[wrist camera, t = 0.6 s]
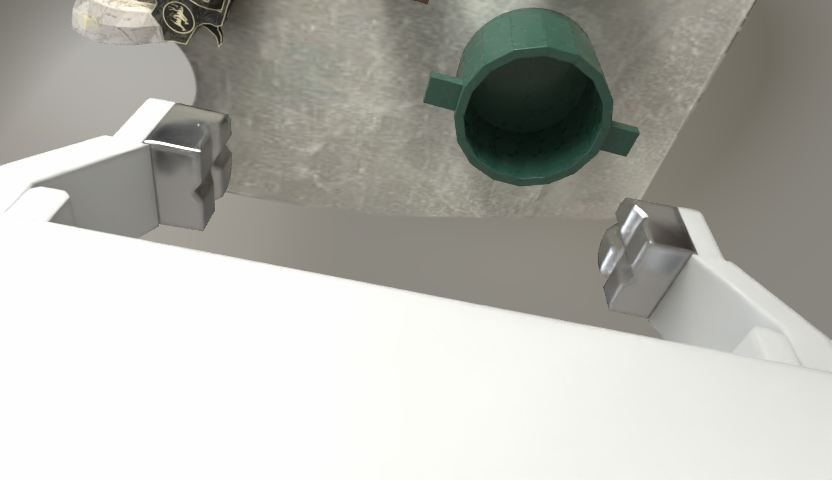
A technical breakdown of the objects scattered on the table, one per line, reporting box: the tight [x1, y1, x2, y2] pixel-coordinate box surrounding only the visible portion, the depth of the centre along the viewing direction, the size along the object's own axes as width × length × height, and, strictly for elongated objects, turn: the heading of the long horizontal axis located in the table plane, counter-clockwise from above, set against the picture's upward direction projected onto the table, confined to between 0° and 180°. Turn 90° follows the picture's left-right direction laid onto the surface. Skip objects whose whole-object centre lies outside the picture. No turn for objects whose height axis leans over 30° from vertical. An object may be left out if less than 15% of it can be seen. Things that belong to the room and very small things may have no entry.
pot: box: [423, 8, 640, 186], centre depth 51 cm, size 13×18×8 cm
